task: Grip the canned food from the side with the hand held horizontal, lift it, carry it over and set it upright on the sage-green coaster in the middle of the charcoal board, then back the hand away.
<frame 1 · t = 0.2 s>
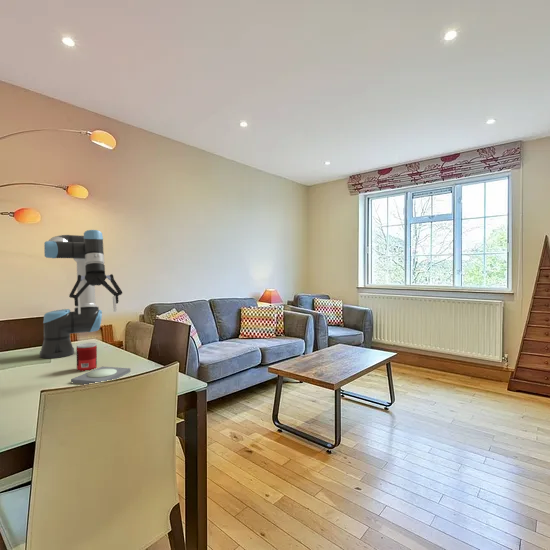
hand: (97, 312, 145), 27 cm above the table, tool tilted 15°, fingers open, 13 cm apart
canned food: (86, 369, 154), on the table
target board: (102, 377, 142), on the table
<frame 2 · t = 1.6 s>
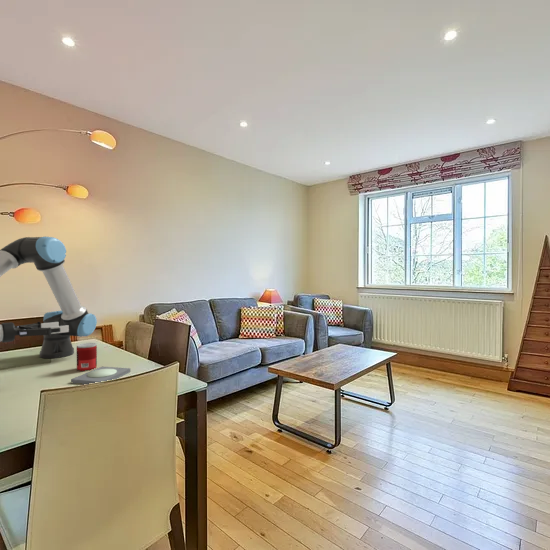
hand: (63, 326, 147), 20 cm above the table, tool horizontal, fingers open, 13 cm apart
nothing on the table moved.
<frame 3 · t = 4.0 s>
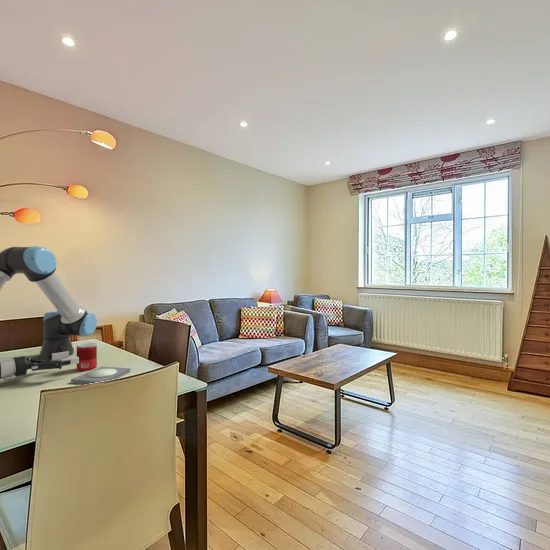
hand: (73, 357, 149), 6 cm above the table, tool horizontal, fingers open, 13 cm apart
nothing on the table moved.
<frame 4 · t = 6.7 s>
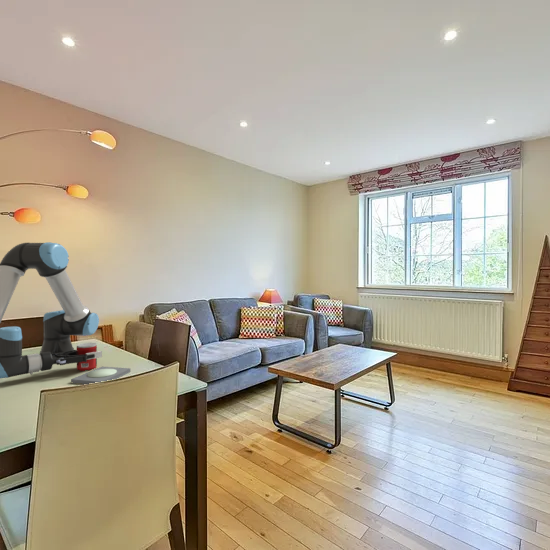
hand: (98, 352, 157), 7 cm above the table, tool horizontal, fingers closed on canned food, 8 cm apart
canned food: (86, 369, 154), on the table, touching gripper
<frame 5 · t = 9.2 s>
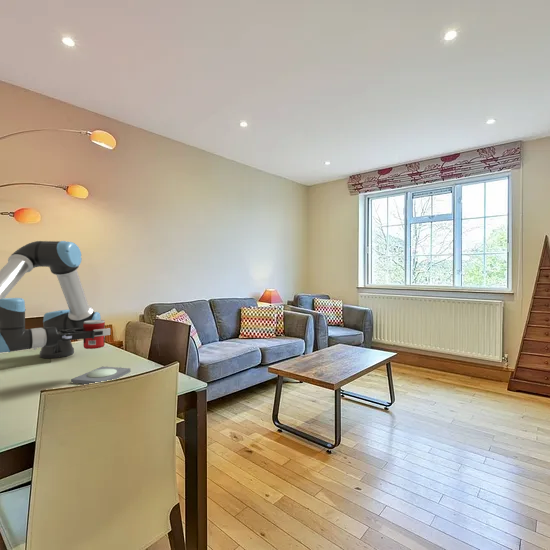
hand: (106, 330, 147), 19 cm above the table, tool horizontal, fingers closed on canned food, 8 cm apart
canned food: (94, 347, 144), point 12 cm above the table, touching gripper
when the fingers open (9 cm above the table, at t = 12.0 s): canned food drops 1 cm, resting on target board.
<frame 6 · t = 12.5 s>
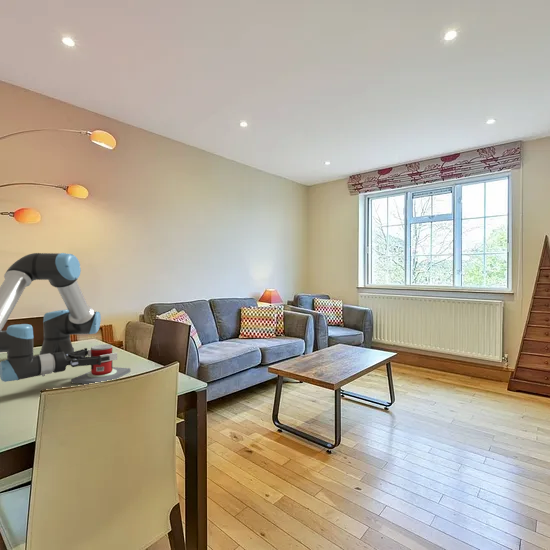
hand: (110, 353, 144), 9 cm above the table, tool horizontal, fingers open, 13 cm apart
canned food: (102, 373, 142), point 2 cm above the table, touching target board
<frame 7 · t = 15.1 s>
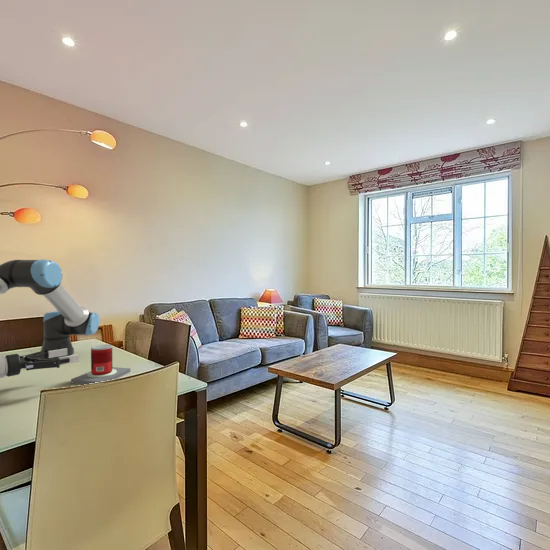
hand: (72, 354, 135), 11 cm above the table, tool horizontal, fingers open, 13 cm apart
nothing on the table moved.
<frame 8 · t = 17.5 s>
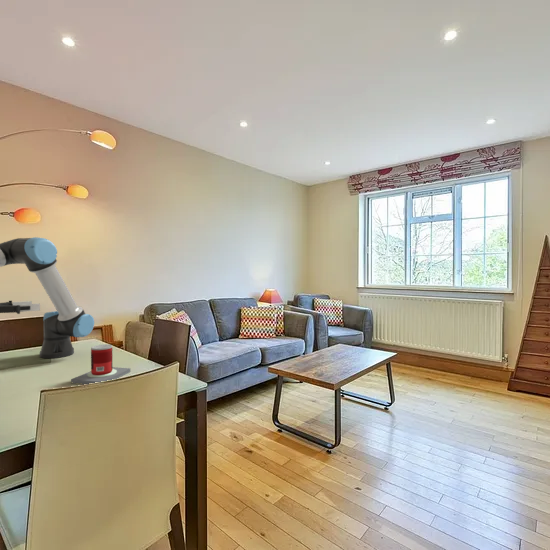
hand: (35, 305, 140), 30 cm above the table, tool horizontal, fingers open, 13 cm apart
nothing on the table moved.
at the end: canned food 0.1 cm off-centre on the target board, point 1.7 cm above the target board's base; canned food tilted 0°; the gripper is holding nothing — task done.
